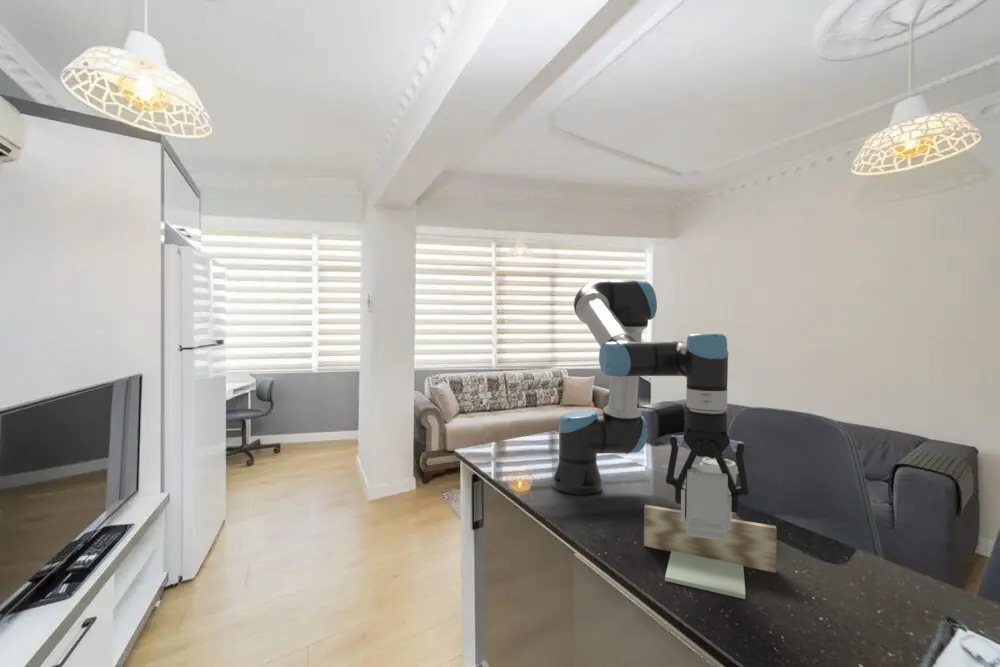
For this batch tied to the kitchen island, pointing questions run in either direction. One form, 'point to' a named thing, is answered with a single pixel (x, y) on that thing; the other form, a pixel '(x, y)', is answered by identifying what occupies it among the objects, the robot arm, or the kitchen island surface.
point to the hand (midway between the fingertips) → (705, 523)
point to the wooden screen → (742, 546)
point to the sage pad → (706, 574)
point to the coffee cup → (730, 464)
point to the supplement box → (707, 502)
